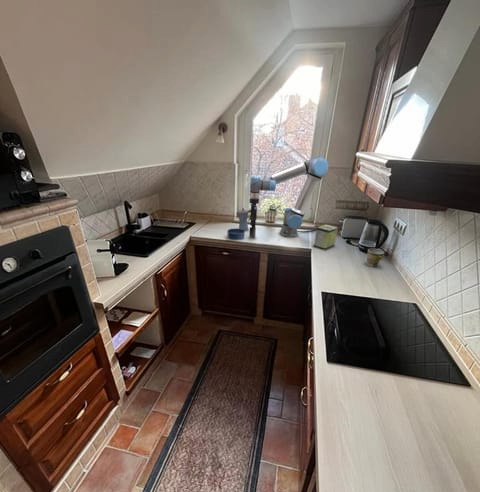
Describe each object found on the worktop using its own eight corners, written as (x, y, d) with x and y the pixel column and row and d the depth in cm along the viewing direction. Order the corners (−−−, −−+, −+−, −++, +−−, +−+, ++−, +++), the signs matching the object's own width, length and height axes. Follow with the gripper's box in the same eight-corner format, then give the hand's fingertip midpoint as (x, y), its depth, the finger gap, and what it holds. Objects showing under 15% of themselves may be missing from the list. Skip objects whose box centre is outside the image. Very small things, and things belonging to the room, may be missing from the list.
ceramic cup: (361, 261, 180) (365, 248, 175) (374, 261, 181) (378, 248, 176) (370, 269, 169) (375, 256, 164) (385, 269, 170) (390, 255, 165)
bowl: (242, 235, 223) (243, 228, 220) (245, 240, 210) (245, 233, 207) (226, 235, 221) (226, 228, 218) (228, 241, 209) (228, 233, 206)
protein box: (334, 245, 206) (338, 226, 199) (324, 250, 197) (329, 230, 189) (322, 242, 213) (326, 224, 205) (313, 246, 203) (316, 227, 195)
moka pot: (234, 229, 235) (234, 207, 225) (248, 228, 241) (249, 206, 231) (238, 232, 228) (238, 210, 218) (253, 231, 234) (254, 208, 224)
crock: (254, 237, 219) (255, 226, 214) (255, 239, 214) (256, 228, 210) (248, 237, 218) (249, 227, 214) (249, 239, 214) (250, 228, 209)
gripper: (247, 195, 207) (246, 223, 219) (251, 200, 191) (250, 230, 202) (256, 195, 208) (255, 223, 220) (261, 200, 192) (259, 230, 203)
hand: (252, 226), depth 211 cm, fingers open, 6 cm apart
